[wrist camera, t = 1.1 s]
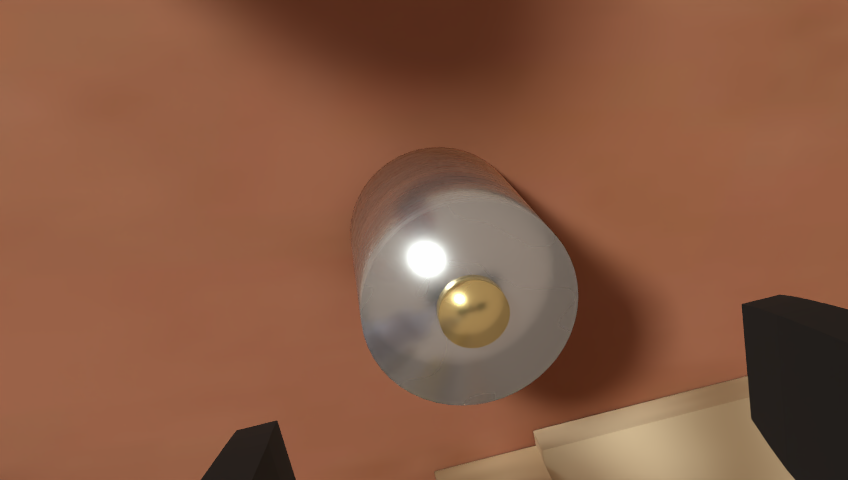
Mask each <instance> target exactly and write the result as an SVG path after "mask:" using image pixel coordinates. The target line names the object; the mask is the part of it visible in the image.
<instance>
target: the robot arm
mask: <svg viewBox="0 0 848 480" xmlns="http://www.w3.org/2000/svg"><path fill="white" fill-rule="evenodd" d="M742 313H743V326H744V338H745V350H746V362H747V374H748V386H749V399H750V411H751V419H752V421H753V422H754V424H755V425H756V427H757V428H758V430H759V431H760V433H761V434H762V436H763V437H764V439H765V440H766V442H767V443H768V445H769V446H770V448H771V449H772V450H773V452H774V453H775V455H776V456H777V457H778V459H779V460H780V461H781V463H782V464H783V466H784V467H785V468H786V470H787V471H788V472H789V473H790V474H791V475H792V477H793V478H794V479H795V480H848V309H844V308H840V307H836V306H833V305H829V304H825V303H820V302H816V301H812V300H808V299H803V298H798V297H793V296H786V295H777V296H773V297H769V298H765V299H761V300H757V301H753V302H749V303H745V304H742ZM201 480H296V479H295V476H294V473H293V470H292V467H291V463H290V460H289V457H288V454H287V451H286V447H285V444H284V441H283V438H282V435H281V431H280V428H279V425H278V422H277V421H273V422H269V423H265V424H261V425H257V426H253V427H249V428H245V429H241V430H237V431H236V432H235V433H234V435H233V436H232V437H231V438H230V440H229V441H228V443H227V444H226V445H225V447H224V448H223V449H222V451H221V452H220V454H219V455H218V457H217V458H216V459H215V461H214V462H213V464H212V465H211V466H210V468H209V469H208V471H207V472H206V473H205V475H204V476H203V478H202V479H201Z"/></svg>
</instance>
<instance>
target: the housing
mask: <svg viewBox="0 0 848 480" xmlns="http://www.w3.org/2000/svg"><path fill="white" fill-rule="evenodd" d="M350 232H351V246H352V254H353V261H354V269H355V277H356V285H357V292H358V300H359V308H360V315H361V323H362V328H363V333H364V337H365V340H366V343H367V346H368V348H369V350H370V352H371V354H372V356H373V358H374V359H375V361H376V362H377V363H378V365H379V366H380V368H381V369H382V370H383V371H384V372H385V373H386V374H387V375H388V377H389V378H390V379H392V380H393V381H394V382H395V383H397V384H398V385H399V386H400V387H402V388H404V389H405V390H407V391H408V392H410V393H412V394H414V395H416V396H419V397H421V398H423V399H426V400H430V401H433V402H436V403H442V404H448V405H475V404H481V403H487V402H491V401H495V400H498V399H501V398H504V397H506V396H508V395H511V394H513V393H515V392H517V391H519V390H521V389H522V388H524V387H526V386H527V385H529V384H530V383H532V382H533V381H534V380H536V379H537V378H538V377H539V376H541V375H542V374H543V373H544V372H545V371H546V370H547V369H548V368H549V367H550V366H551V364H552V363H553V362H554V361H555V360H556V358H557V357H558V356H559V354H560V353H561V351H562V349H563V348H564V346H565V345H566V343H567V340H568V338H569V336H570V334H571V332H572V328H573V325H574V322H575V318H576V313H577V308H578V286H577V279H576V274H575V270H574V267H573V264H572V262H571V259H570V257H569V255H568V253H567V251H566V249H565V248H564V246H563V244H562V243H561V242H560V240H559V239H558V238H557V237H556V235H555V234H554V233H553V232H552V231H551V230H550V228H549V227H548V226H547V225H546V224H545V223H544V222H543V221H542V220H541V218H540V217H539V216H538V215H537V214H536V213H535V212H534V211H533V210H532V208H531V207H530V206H529V205H528V204H527V203H526V202H525V201H524V200H523V198H522V197H521V196H520V195H519V194H518V193H517V192H516V191H515V190H514V188H513V187H512V186H511V185H510V184H509V183H508V182H507V181H506V180H505V178H504V177H503V176H502V175H501V174H500V173H499V172H498V171H497V170H496V169H495V168H494V167H493V166H492V165H490V164H489V163H487V162H486V161H485V160H483V159H481V158H479V157H478V156H476V155H474V154H471V153H468V152H466V151H463V150H458V149H454V148H445V147H433V148H425V149H419V150H415V151H412V152H409V153H406V154H404V155H402V156H399V157H397V158H396V159H394V160H392V161H391V162H389V163H387V164H386V165H385V166H384V167H382V168H381V169H380V170H379V171H378V172H377V173H376V174H375V175H374V176H373V177H372V178H371V179H370V180H369V181H368V183H367V184H366V186H365V187H364V188H363V190H362V192H361V194H360V196H359V197H358V200H357V202H356V205H355V207H354V211H353V215H352V219H351V229H350Z"/></svg>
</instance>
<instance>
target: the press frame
mask: <svg viewBox="0 0 848 480" xmlns="http://www.w3.org/2000/svg"><path fill="white" fill-rule="evenodd" d="M533 433H534V438H535V443H536V446H533V447H529V448H525V449H521V450H517V451H513V452H509V453H505V454H501V455H497V456H494V457H490V458H486V459H482V460H478V461H474V462H470V463H466V464H462V465H458V466H455V467H451V468H447V469H443V470H439V471H435V472H434V473H435V477H436V480H795V479H794V478H793V477H792V475H791V474H790V473H789V472H788V471H787V470H786V468H785V467H784V466H783V464H782V463H781V461H780V460H779V459H778V457H777V456H776V455H775V453H774V452H773V450H772V449H771V448H770V446H769V445H768V443H767V442H766V440H765V439H764V437H763V436H762V434H761V433H760V431H759V430H758V428H757V427H756V425H755V424H754V422H753V421H752V419H751V411H750V399H749V386H748V376H746V377H742V378H738V379H734V380H731V381H727V382H723V383H719V384H715V385H711V386H707V387H703V388H699V389H695V390H691V391H687V392H684V393H680V394H676V395H672V396H668V397H664V398H660V399H656V400H652V401H648V402H644V403H640V404H637V405H633V406H629V407H625V408H621V409H617V410H613V411H609V412H605V413H601V414H597V415H594V416H590V417H586V418H582V419H578V420H574V421H570V422H566V423H562V424H558V425H554V426H550V427H547V428H543V429H539V430H535V431H533Z"/></svg>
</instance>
